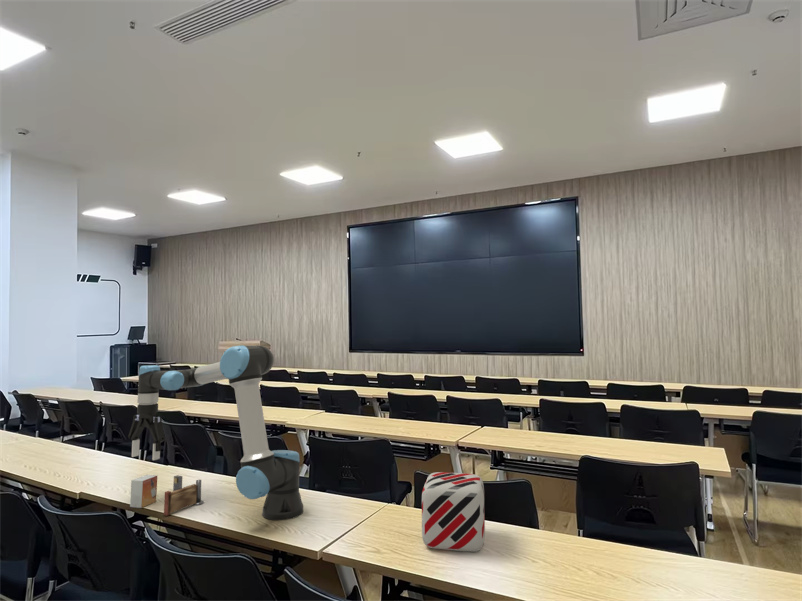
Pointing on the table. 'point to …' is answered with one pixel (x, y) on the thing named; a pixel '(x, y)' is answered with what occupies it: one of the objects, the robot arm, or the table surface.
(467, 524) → the decorative cube
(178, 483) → the latch post
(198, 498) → the pivot post
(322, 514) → the table surface
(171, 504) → the gate
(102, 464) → the table surface
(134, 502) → the small box
